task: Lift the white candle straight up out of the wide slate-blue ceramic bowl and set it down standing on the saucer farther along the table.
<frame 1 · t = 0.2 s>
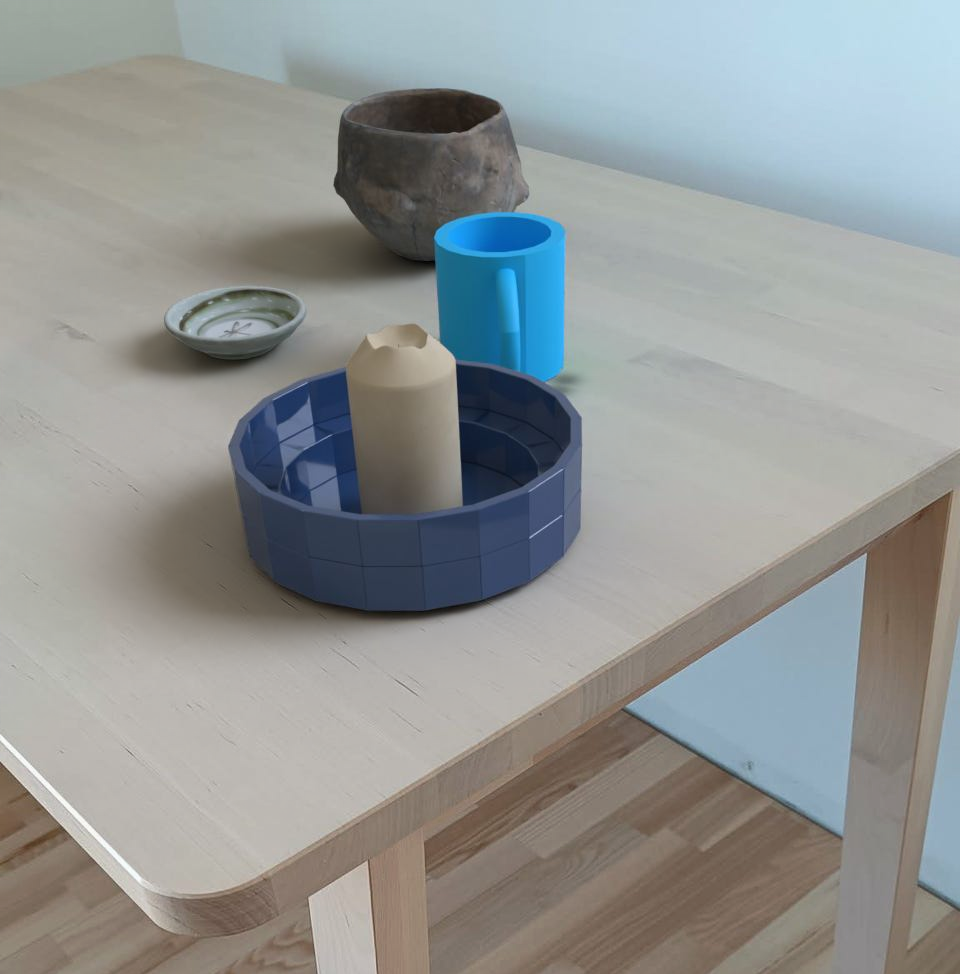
serving bowl: (413, 526, 70), on the table
mug: (504, 378, 83), on the table
candle: (413, 521, 69), resting on serving bowl
saucer: (241, 348, 88), on the table
bowl: (431, 250, 101), on the table
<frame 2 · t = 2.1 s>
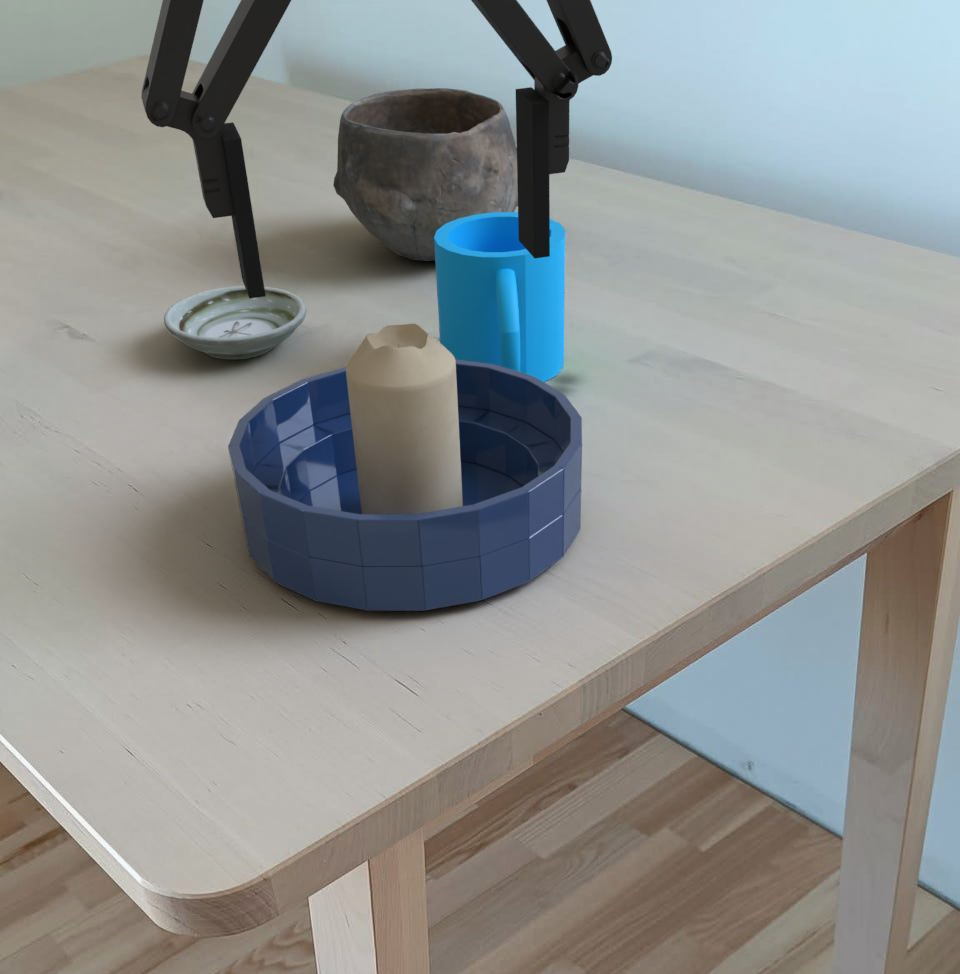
hand: (396, 268, 60), 14 cm above the table, tool pointing down, fingers open, 13 cm apart
nothing on the table moved.
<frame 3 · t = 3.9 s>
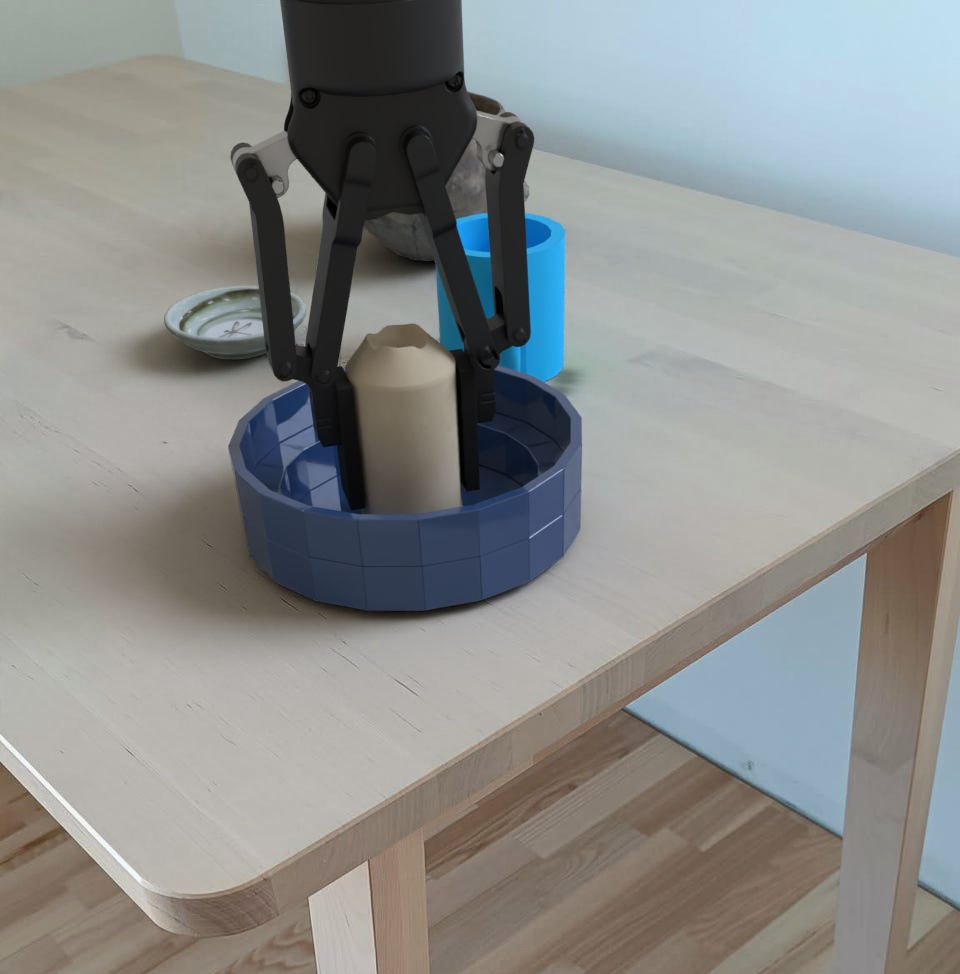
hand: (410, 487, 68), 2 cm above the table, tool pointing down, fingers closed on candle, 5 cm apart
candle: (413, 520, 69), resting on serving bowl, touching gripper
everything else where it was.
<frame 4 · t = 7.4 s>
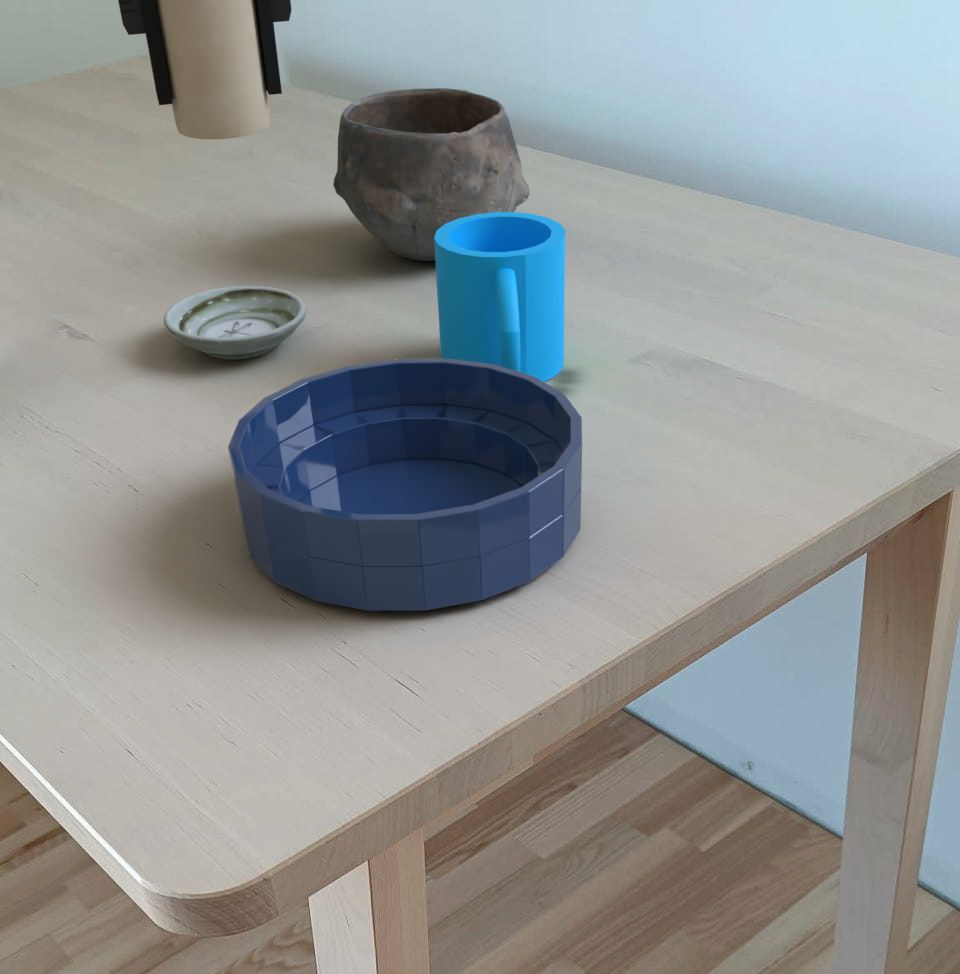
hand: (218, 92, 73), 17 cm above the table, tool pointing down, fingers closed on candle, 5 cm apart
candle: (224, 131, 75), point 15 cm above the table, touching gripper
everything else where it was.
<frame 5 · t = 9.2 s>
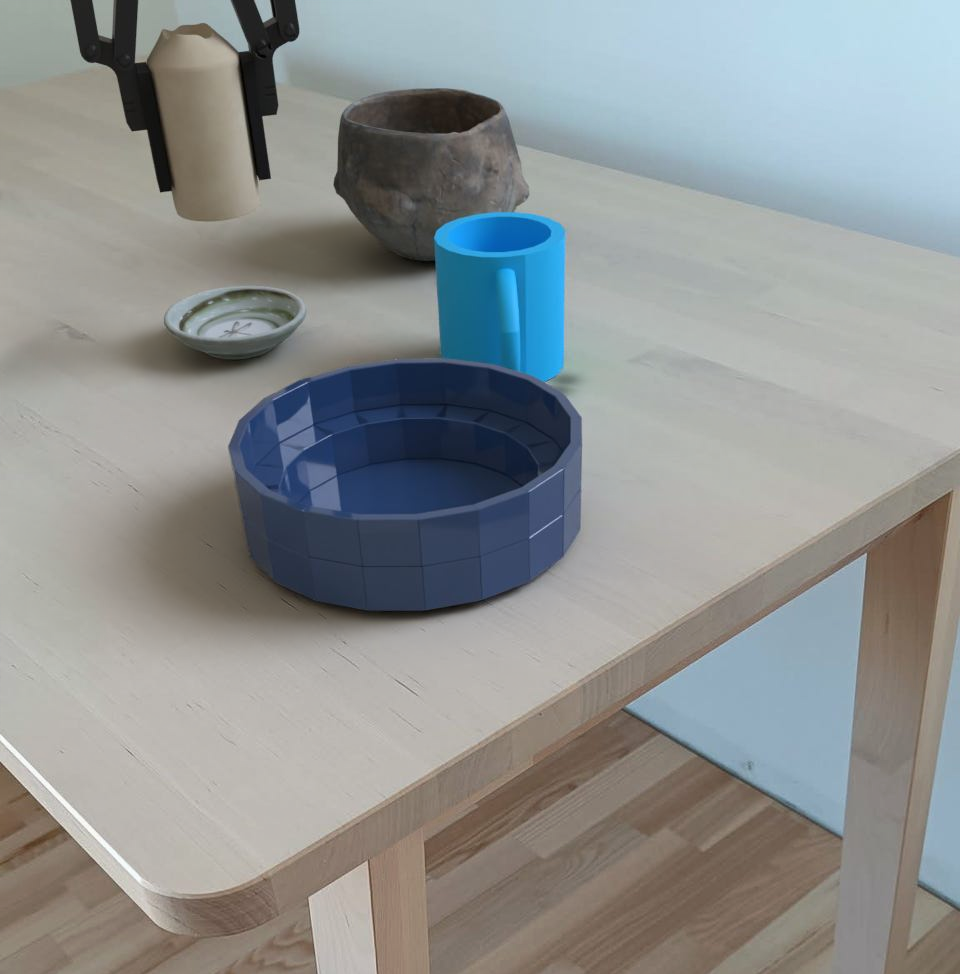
hand: (213, 178, 81), 11 cm above the table, tool pointing down, fingers closed on candle, 5 cm apart
candle: (219, 211, 82), point 9 cm above the table, touching gripper
everything else where it was.
when the fingers open (4 cm above the table, at t = 10.9 s): candle stays where it is, point 2 cm above the table.
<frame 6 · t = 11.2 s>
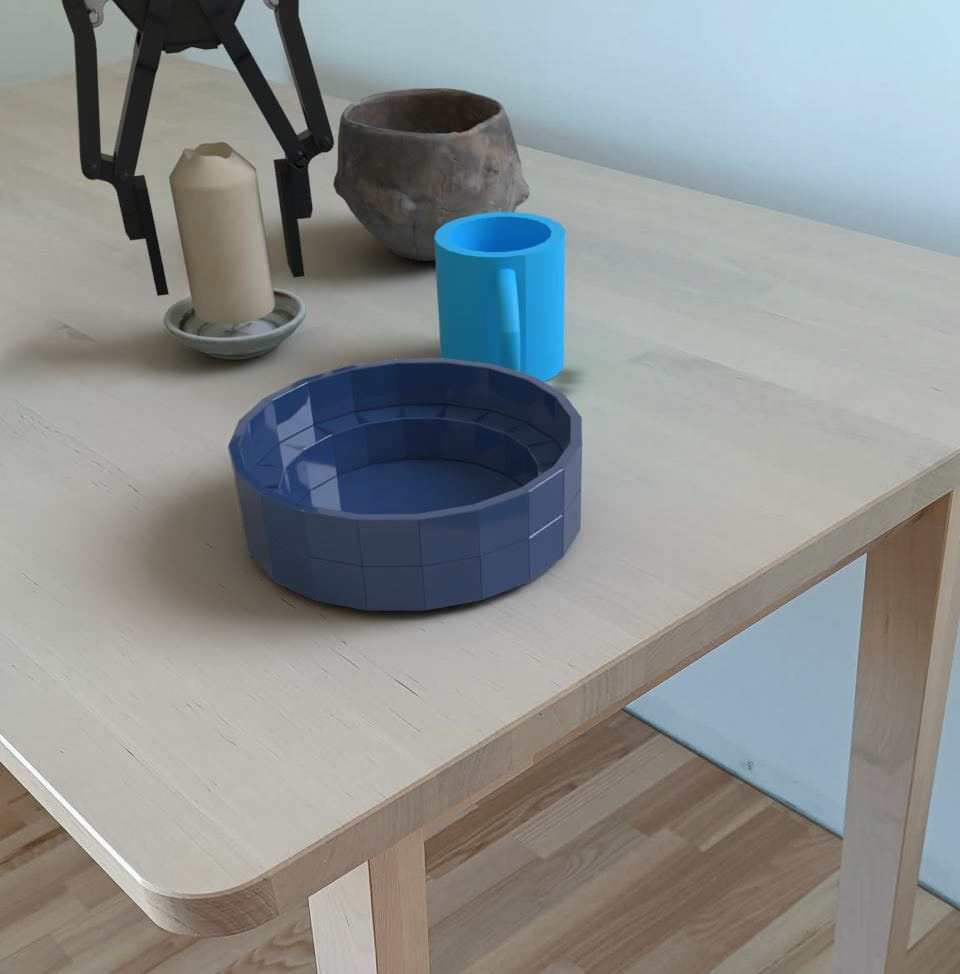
hand: (229, 278, 85), 5 cm above the table, tool pointing down, fingers open, 8 cm apart
candle: (235, 312, 87), point 2 cm above the table
everything else where it was.
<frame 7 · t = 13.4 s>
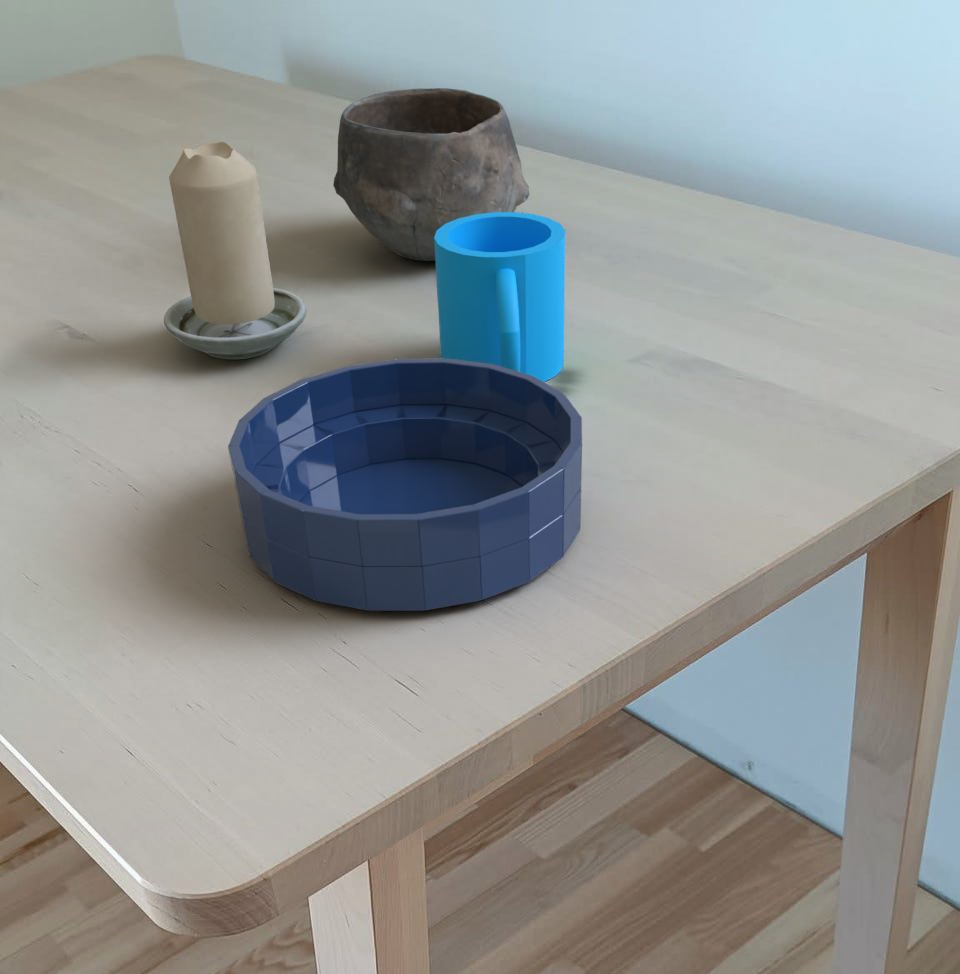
candle: (235, 312, 87), point 2 cm above the table, touching saucer
saucer: (241, 348, 88), on the table, touching candle
everything else where it was.
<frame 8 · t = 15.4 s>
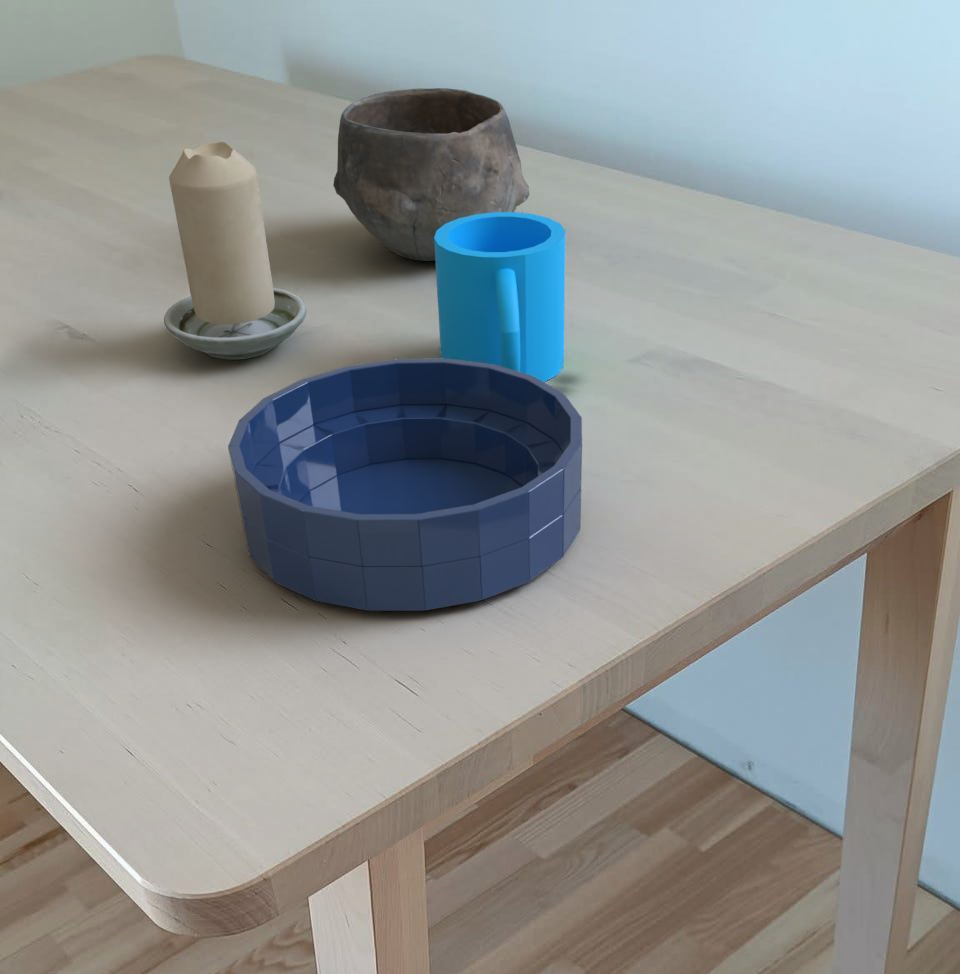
nothing on the table moved.
at the end: candle 0.0 cm off-centre on the saucer, point 2.4 cm above the saucer's base; candle tilted 0°; candle touching saucer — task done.
